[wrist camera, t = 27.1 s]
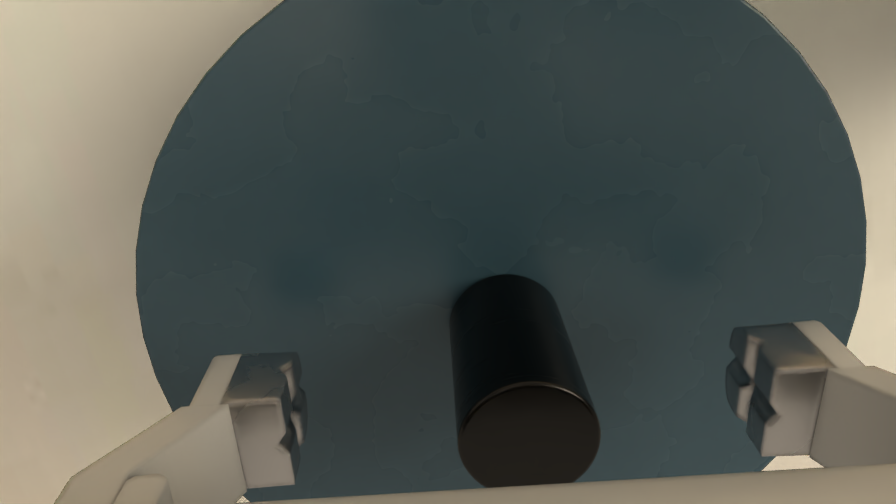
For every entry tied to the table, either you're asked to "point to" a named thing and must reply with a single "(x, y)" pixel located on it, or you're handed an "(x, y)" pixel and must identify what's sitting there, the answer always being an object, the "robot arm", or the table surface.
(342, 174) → the tin lid
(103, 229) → the table surface
